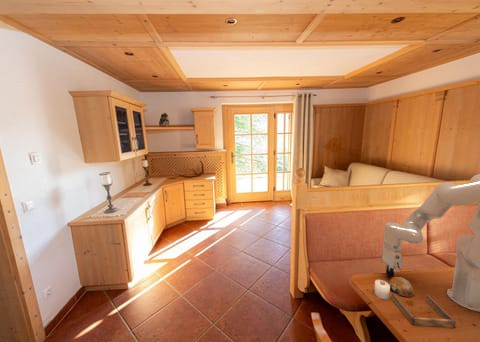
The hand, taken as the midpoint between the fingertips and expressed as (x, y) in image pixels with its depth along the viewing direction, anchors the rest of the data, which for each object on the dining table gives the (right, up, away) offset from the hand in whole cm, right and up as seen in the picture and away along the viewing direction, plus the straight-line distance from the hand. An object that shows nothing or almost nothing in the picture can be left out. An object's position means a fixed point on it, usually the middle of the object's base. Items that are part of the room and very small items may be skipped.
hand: (389, 276), depth 108 cm
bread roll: (-1, -3, -8) cm, 9 cm away
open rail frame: (-3, -4, -21) cm, 22 cm away
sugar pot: (-13, -3, -11) cm, 17 cm away
